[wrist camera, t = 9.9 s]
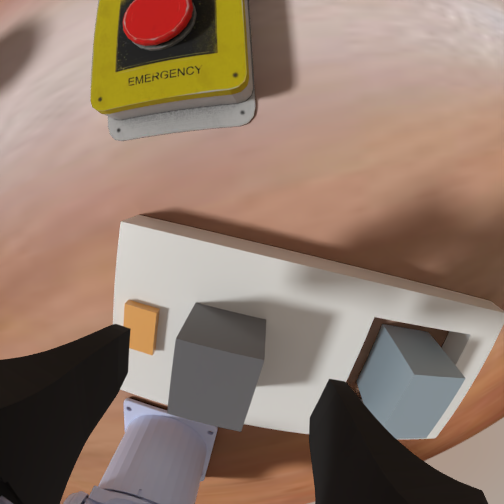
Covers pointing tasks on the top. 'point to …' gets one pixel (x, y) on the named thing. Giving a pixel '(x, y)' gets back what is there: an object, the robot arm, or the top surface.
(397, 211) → the top surface
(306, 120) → the top surface
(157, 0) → the emergency button
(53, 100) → the top surface
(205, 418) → the matte grey cube
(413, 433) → the slate plug
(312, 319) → the white flat frame
